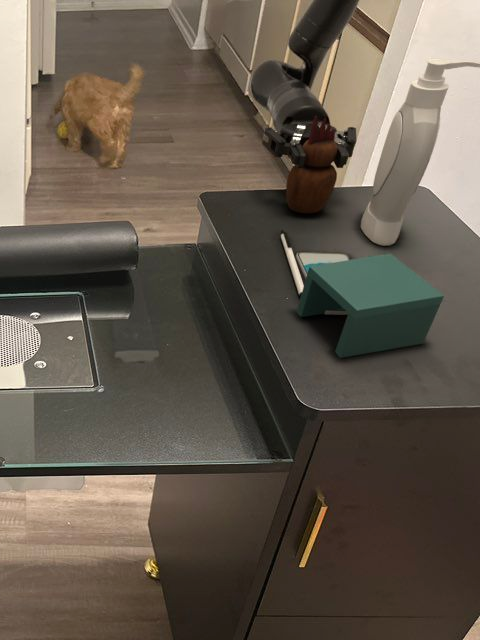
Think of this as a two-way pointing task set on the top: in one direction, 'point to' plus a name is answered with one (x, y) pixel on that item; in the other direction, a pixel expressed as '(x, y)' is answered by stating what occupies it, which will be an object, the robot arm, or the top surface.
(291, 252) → the pen
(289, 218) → the top surface
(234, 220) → the top surface
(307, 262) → the smartphone
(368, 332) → the shelf
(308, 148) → the wooden figurine
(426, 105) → the soap bottle
